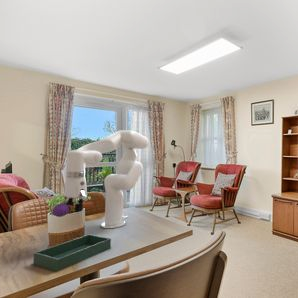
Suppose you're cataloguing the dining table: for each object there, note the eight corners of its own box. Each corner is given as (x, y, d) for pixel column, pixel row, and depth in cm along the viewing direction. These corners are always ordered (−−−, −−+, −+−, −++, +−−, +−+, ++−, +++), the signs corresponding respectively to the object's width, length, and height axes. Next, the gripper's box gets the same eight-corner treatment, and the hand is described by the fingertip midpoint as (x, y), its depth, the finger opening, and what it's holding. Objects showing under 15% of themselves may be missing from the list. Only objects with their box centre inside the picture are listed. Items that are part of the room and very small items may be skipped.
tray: (89, 243, 113) (89, 234, 113) (110, 248, 109) (110, 238, 109) (33, 264, 92) (33, 252, 92) (56, 271, 87) (57, 259, 87)
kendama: (96, 200, 124) (62, 206, 104) (93, 211, 124) (58, 219, 104) (86, 197, 125) (51, 203, 105) (83, 208, 124) (47, 216, 105)
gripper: (95, 175, 115) (93, 211, 115) (71, 173, 121) (70, 207, 121) (80, 176, 108) (78, 215, 108) (55, 174, 114) (54, 210, 113)
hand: (74, 210), depth 114 cm, fingers closed on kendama, 5 cm apart
